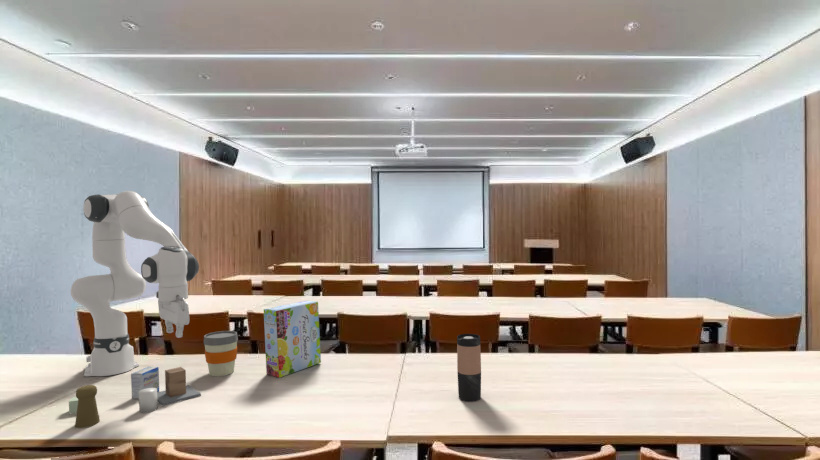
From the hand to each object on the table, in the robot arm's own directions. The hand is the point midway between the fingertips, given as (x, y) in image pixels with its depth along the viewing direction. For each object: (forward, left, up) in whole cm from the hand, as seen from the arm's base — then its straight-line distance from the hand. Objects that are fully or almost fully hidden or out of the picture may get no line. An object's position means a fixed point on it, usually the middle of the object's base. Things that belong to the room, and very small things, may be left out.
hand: (174, 334), depth 159 cm
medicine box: (-9, -7, -21) cm, 24 cm away
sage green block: (-9, -25, -21) cm, 34 cm away
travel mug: (+73, +67, -21) cm, 101 cm away
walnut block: (0, 0, -20) cm, 20 cm away
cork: (+5, -26, -21) cm, 34 cm away
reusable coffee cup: (-14, +21, -21) cm, 33 cm away
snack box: (+3, +43, -21) cm, 48 cm away
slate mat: (0, 0, -21) cm, 21 cm away
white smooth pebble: (+6, -10, -21) cm, 24 cm away
